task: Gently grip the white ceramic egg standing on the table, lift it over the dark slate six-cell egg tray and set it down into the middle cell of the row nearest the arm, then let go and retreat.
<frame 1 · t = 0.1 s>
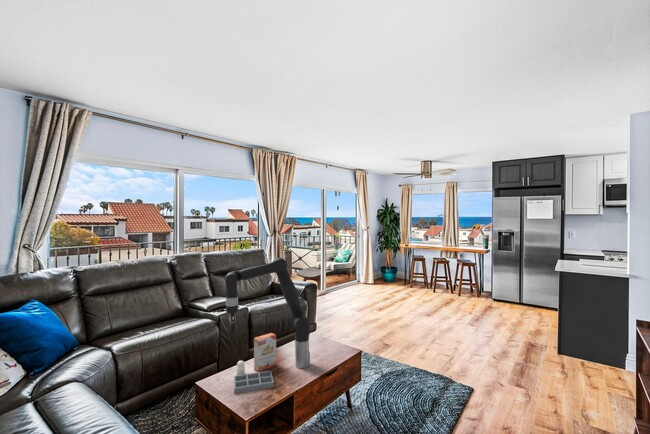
hand: (232, 329, 201), 29 cm above the table, tool pointing down, fingers open, 8 cm apart
cracker box: (265, 367, 212), on the table
egg tray: (253, 383, 191), on the table
egg: (240, 374, 203), on the table
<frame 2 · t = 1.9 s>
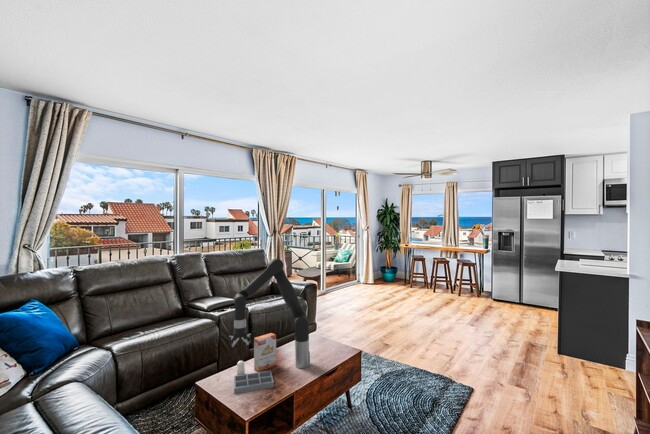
hand: (240, 351, 203), 14 cm above the table, tool pointing down, fingers open, 8 cm apart
nothing on the table moved.
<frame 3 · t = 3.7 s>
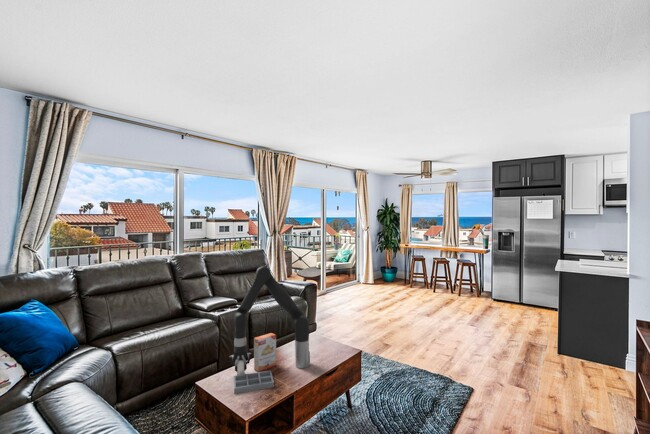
hand: (240, 370, 203), 2 cm above the table, tool pointing down, fingers closed on egg, 4 cm apart
egg: (240, 374, 203), on the table, touching gripper
everything else where it was.
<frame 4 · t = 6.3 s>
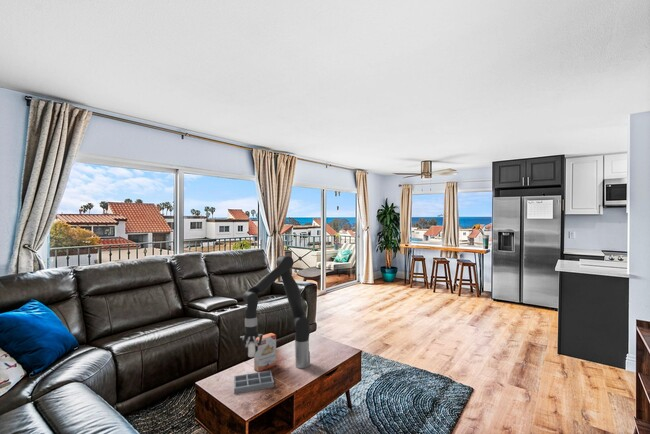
hand: (251, 352, 195), 17 cm above the table, tool pointing down, fingers closed on egg, 4 cm apart
egg: (251, 355, 195), point 15 cm above the table, touching gripper
everything else where it was.
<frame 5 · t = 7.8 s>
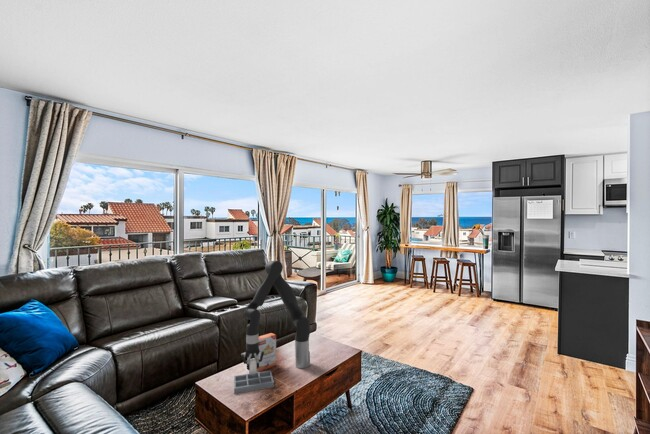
hand: (252, 369, 194), 7 cm above the table, tool pointing down, fingers closed on egg, 4 cm apart
egg: (252, 372, 194), point 5 cm above the table, touching gripper
everything else where it was.
when the fingers open (4 cm above the table, at t = 8.8 s): egg drops 1 cm, resting on egg tray.
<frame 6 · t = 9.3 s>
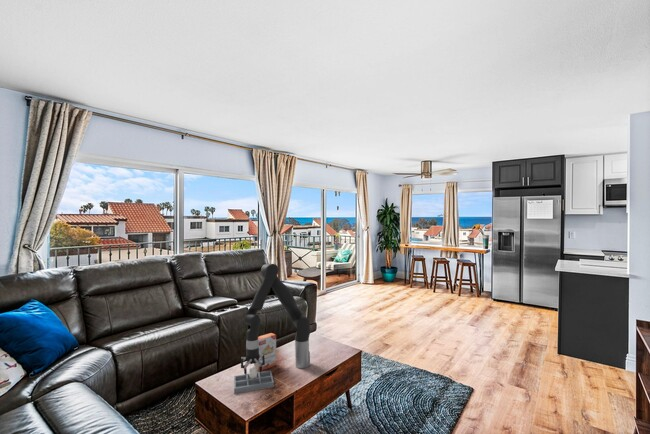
hand: (253, 373, 194), 5 cm above the table, tool pointing down, fingers open, 8 cm apart
egg: (253, 379, 194), point 1 cm above the table, touching egg tray
everything else where it was.
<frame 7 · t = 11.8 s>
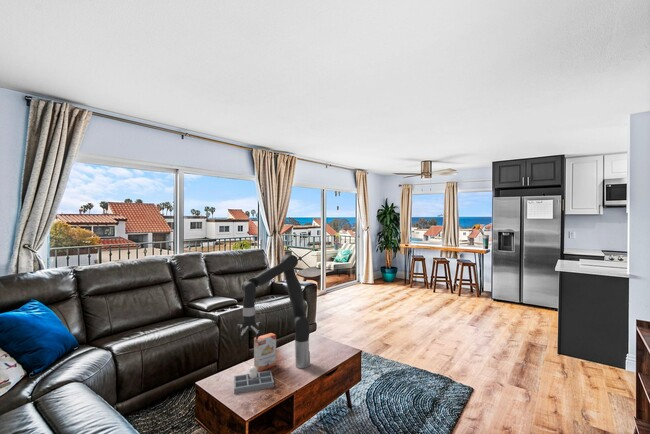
hand: (249, 340, 197), 24 cm above the table, tool pointing down, fingers open, 8 cm apart
nothing on the table moved.
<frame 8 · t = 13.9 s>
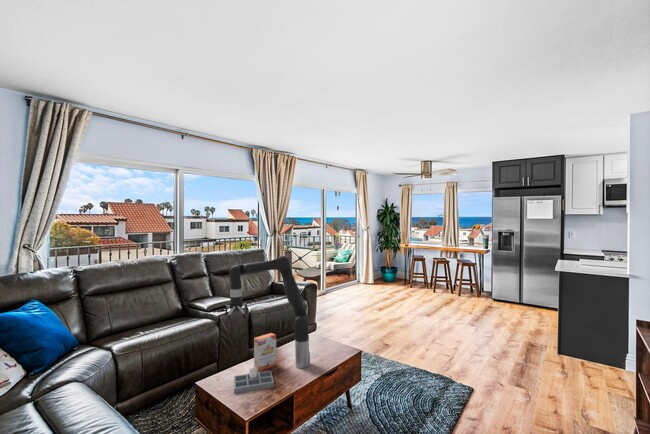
hand: (236, 319, 211), 32 cm above the table, tool pointing down, fingers open, 8 cm apart
nothing on the table moved.
at the end: egg 0.0 cm from the target spot on the egg tray, point 0.6 cm above the egg tray's base; egg tilted 0°; the gripper is holding nothing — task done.
